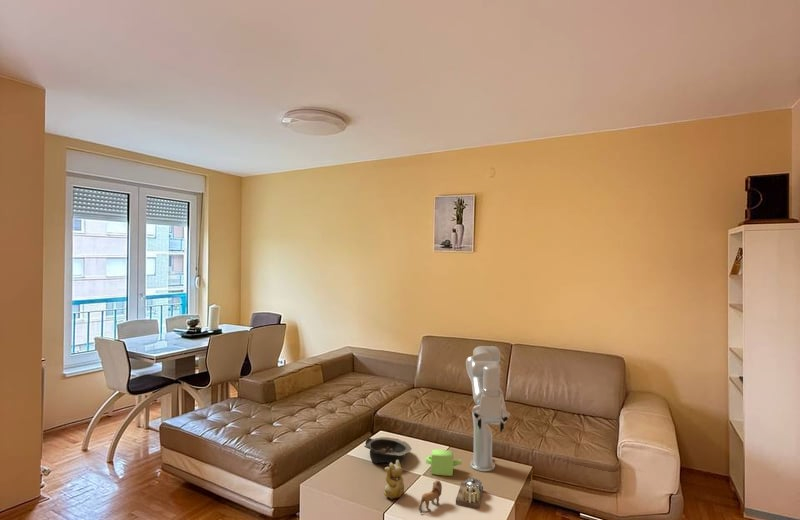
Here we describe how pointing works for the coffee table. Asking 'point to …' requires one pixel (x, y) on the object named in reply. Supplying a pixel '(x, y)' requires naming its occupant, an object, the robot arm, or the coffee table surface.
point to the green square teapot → (442, 462)
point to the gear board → (462, 501)
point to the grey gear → (473, 483)
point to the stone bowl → (387, 449)
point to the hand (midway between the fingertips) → (490, 429)
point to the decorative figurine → (394, 481)
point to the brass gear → (471, 494)
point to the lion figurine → (431, 495)
